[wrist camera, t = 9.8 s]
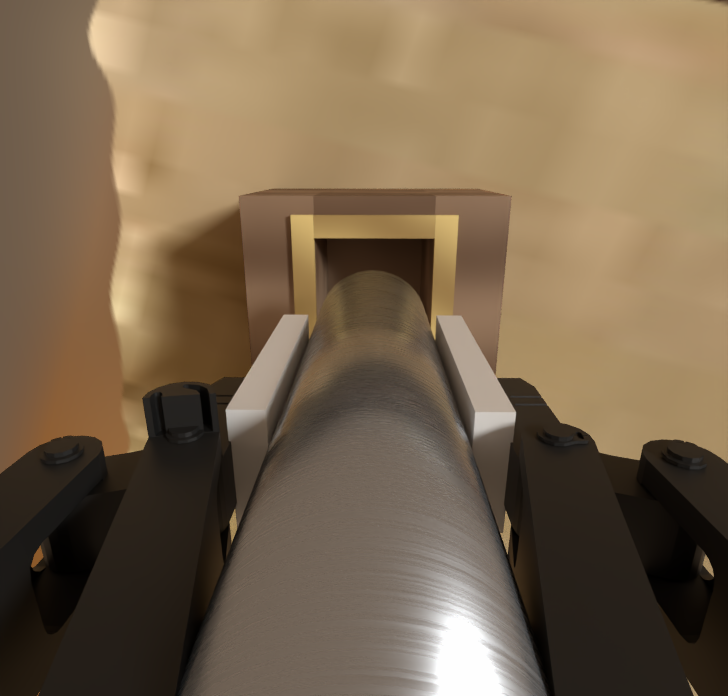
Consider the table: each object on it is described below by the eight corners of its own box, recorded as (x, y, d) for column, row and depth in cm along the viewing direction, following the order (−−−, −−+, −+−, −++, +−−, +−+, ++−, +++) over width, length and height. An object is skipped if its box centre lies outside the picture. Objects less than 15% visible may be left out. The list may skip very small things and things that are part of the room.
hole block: (458, 458, 36) (481, 538, 28) (287, 456, 36) (263, 535, 28) (477, 188, 30) (513, 196, 22) (272, 188, 30) (237, 196, 23)
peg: (423, 372, 20) (568, 994, 5) (321, 371, 20) (160, 983, 5) (427, 270, 19) (642, 701, 4) (318, 270, 19) (87, 690, 4)
